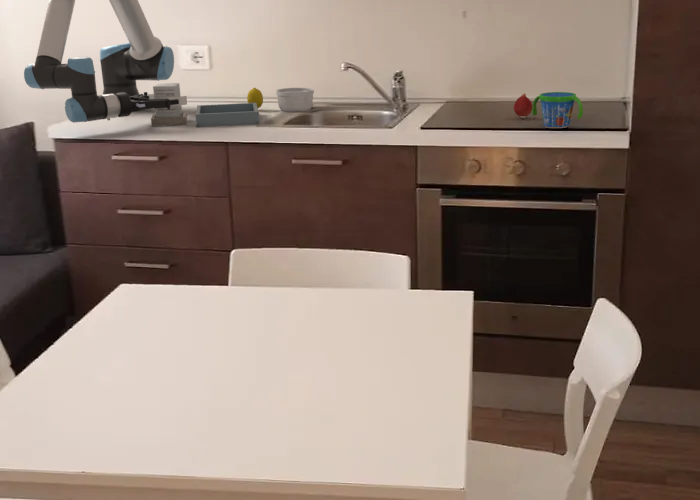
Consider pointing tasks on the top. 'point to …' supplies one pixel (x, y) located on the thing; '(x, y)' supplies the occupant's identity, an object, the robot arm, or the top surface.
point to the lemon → (255, 97)
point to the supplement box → (163, 93)
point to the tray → (227, 114)
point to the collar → (169, 120)
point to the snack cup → (557, 108)
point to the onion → (523, 106)
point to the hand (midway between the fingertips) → (176, 98)
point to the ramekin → (295, 99)
